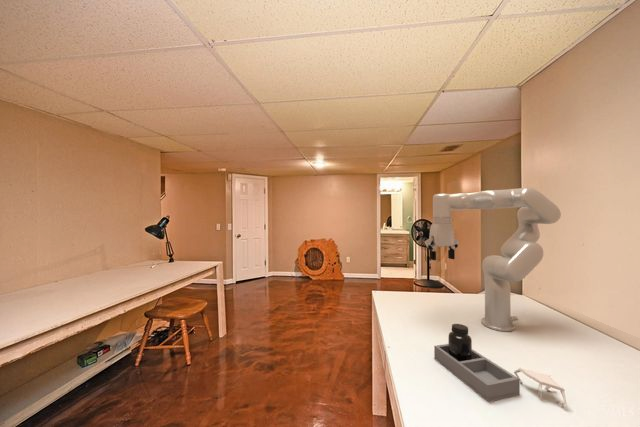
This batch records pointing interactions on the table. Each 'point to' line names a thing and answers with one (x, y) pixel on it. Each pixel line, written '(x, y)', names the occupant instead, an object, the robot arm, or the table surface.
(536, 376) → the origami figure
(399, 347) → the table surface
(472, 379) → the divided tray
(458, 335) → the supplement bottle
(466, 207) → the robot arm
